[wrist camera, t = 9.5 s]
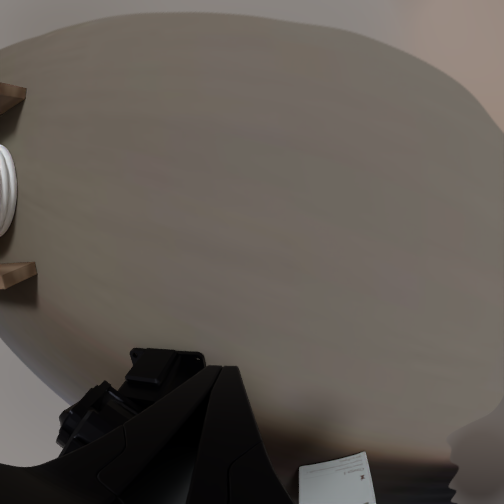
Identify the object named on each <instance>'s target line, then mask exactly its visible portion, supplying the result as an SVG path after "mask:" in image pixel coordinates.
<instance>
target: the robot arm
mask: <svg viewBox="0 0 504 504" xmlns="http://www.w3.org/2000/svg"><path fill="white" fill-rule="evenodd" d="M135 353H136V354H137V355H136V354H135ZM130 356H131V360H132V363H133V367H132V368H131V370H130V371H129V372H128V373H127V375H126V376H125V379H126V380H125V382H124V383H123V384H122V386H121V387H120V388H119V390H118V391H117V390H115V389H114V388H113V387H111V384H109V383H108V382H107V381H104V382H103V383H102V384H101V385H99V386H98V385H96V386H95V387H94V388H91V389H90V390H89V391H88V392H87V393H86V394H85V396H84V397H83V398H82V399H81V400H80V401H79V402H77V403H76V404H74V405H72V406H71V407H69V408H68V409H66V410H64V411H63V412H62V413H61V415H60V416H59V420H60V424H61V428H60V430H59V435H58V437H57V440H56V443H57V444H58V445H60V446H61V447H62V448H63V450H62V452H61V453H60V455H59V457H58V458H56V459H54V460H51V461H49V462H46V463H44V464H41V465H38V466H33V467H16V466H10V465H6V464H1V463H0V504H295V503H294V502H293V500H292V499H291V497H290V496H289V494H288V493H287V491H286V489H285V488H284V486H283V485H282V483H281V481H280V479H279V477H278V476H277V474H276V472H275V470H274V468H273V466H272V463H271V461H270V459H269V456H268V454H267V451H266V448H265V446H264V443H263V440H262V438H261V435H260V432H259V429H258V426H257V423H256V420H255V417H254V414H253V411H252V408H251V405H250V402H249V399H248V396H247V393H246V390H245V387H244V384H243V381H242V378H241V374H240V371H239V368H238V367H237V366H224V367H222V366H216V365H209V366H207V367H206V364H205V358H204V355H203V354H202V353H200V352H189V351H175V350H168V349H153V348H147V349H143V348H133V349H132V350H131V351H130ZM195 357H198V358H199V359H200V360H197V359H196V358H195Z"/></svg>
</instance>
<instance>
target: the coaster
mask: <svg viewBox="0 0 504 504" xmlns="http://www.w3.org/2000/svg"><path fill="white" fill-rule="evenodd" d="M16 199H17V178H16V171H15V166H14V162H13V159H12V156H11V154H10V152H9V151H8V149H7V148H6V147H4V146H3V145H1V144H0V237H1V236H2V235H3V234H4V233H5V232H6V231H7V230H8V228H9V226H10V224H11V222H12V219H13V216H14V212H15V207H16Z"/></svg>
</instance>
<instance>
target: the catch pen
mask: <svg viewBox="0 0 504 504" xmlns="http://www.w3.org/2000/svg"><path fill="white" fill-rule="evenodd" d="M25 96H26V88H23V87H18V86H14V85H10V84H5V83H0V115H1V114H3V113H4V112H6V111H7V110H9V109H10V108H12V107H13V106H15V105H16V104H18V103H20V102H21V101H23V100H24V99H25ZM36 274H37V271H36V266H35V262H23V263H7V264H0V289H7V288H9V287H11V286H13V285H15V284H17V283H19V282H21V281H23V280H25V279H28V278H30V277H32V276H34V275H36Z"/></svg>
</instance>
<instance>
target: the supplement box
mask: <svg viewBox="0 0 504 504" xmlns="http://www.w3.org/2000/svg"><path fill="white" fill-rule="evenodd" d="M299 504H376V500H375V495H374V490H373V484H372V479H371V474H370V469H369V465H368V460H367V456H366V452H361V453H359V454H356V455H352V456H349V457H345V458H341V459H337V460H333V461H328V462H323V463H318V464H313V465H305V466H301V467H299Z"/></svg>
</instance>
